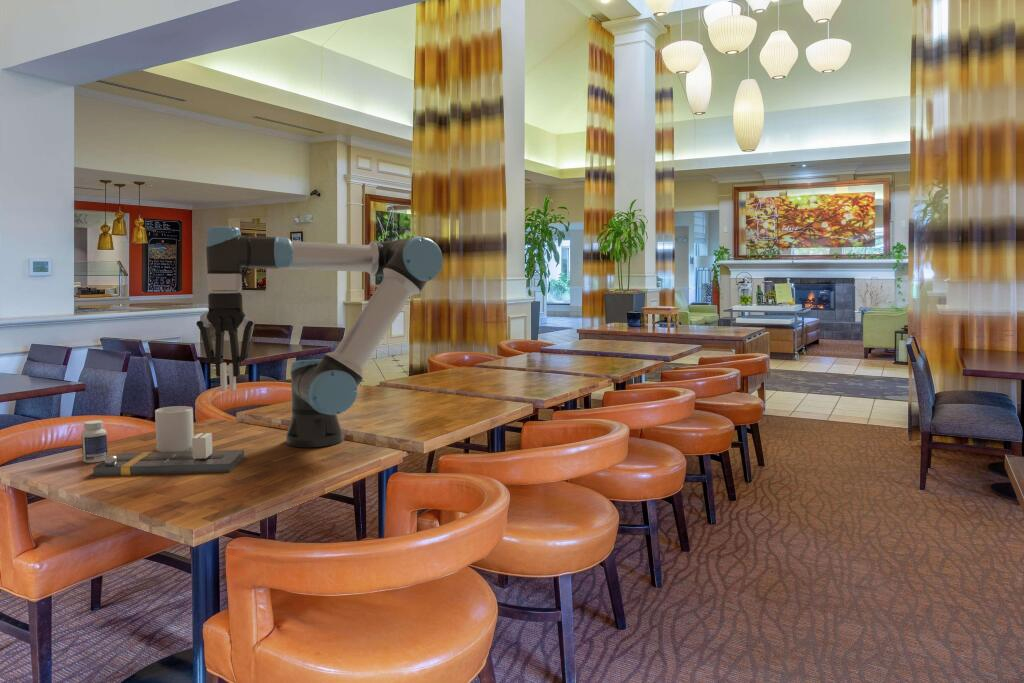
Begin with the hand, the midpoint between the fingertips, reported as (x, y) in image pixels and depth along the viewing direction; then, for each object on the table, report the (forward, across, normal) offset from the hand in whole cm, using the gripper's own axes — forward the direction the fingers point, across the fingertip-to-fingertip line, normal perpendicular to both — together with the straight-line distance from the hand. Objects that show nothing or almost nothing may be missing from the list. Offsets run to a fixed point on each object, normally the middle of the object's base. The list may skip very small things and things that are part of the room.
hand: (228, 389), depth 165 cm
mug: (+19, +18, -17) cm, 31 cm away
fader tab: (+16, +6, 0) cm, 17 cm away
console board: (+18, +14, 0) cm, 23 cm away
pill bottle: (+19, +34, -8) cm, 40 cm away
